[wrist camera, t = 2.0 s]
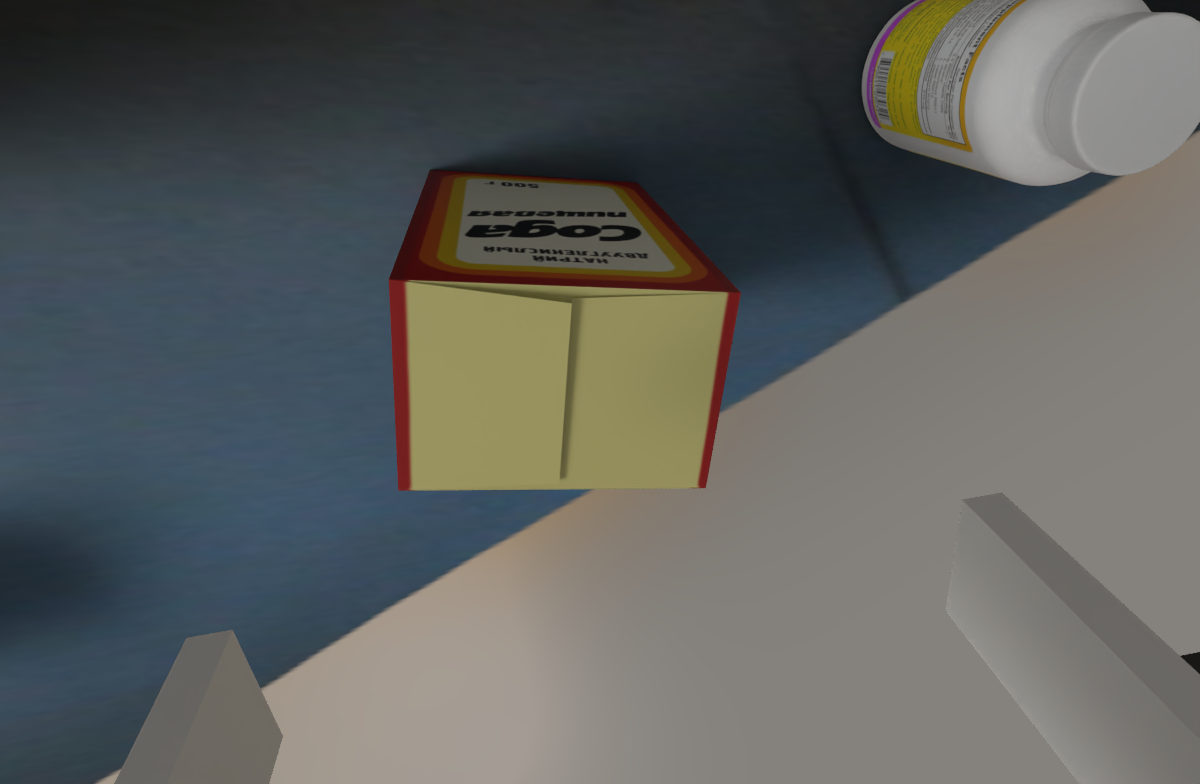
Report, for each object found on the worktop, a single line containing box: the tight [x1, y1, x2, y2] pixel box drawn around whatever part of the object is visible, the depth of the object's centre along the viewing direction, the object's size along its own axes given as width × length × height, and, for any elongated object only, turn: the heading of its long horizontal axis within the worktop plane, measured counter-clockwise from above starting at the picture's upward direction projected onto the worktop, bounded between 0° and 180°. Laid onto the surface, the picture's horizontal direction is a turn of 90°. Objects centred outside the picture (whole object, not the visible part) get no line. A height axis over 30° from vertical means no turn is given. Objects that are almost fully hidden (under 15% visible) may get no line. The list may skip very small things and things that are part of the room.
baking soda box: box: [389, 170, 741, 490], centre depth 28 cm, size 10×6×16 cm
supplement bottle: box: [862, 0, 1200, 186], centre depth 28 cm, size 7×7×13 cm
